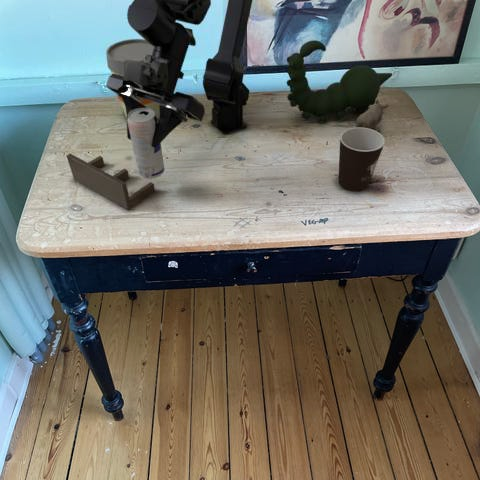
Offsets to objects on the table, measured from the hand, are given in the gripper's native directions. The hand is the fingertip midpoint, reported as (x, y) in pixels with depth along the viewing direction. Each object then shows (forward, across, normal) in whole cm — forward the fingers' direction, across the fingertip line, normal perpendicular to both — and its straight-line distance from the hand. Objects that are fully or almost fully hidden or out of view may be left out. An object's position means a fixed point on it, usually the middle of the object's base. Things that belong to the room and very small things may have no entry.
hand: (141, 143), depth 92 cm
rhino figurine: (-23, +31, +41) cm, 56 cm away
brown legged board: (+9, -9, +8) cm, 15 cm away
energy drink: (+4, 0, +6) cm, 7 cm away
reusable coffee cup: (-9, -21, +27) cm, 36 cm away
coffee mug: (-10, +36, +27) cm, 46 cm away
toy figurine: (-25, +21, +43) cm, 54 cm away
